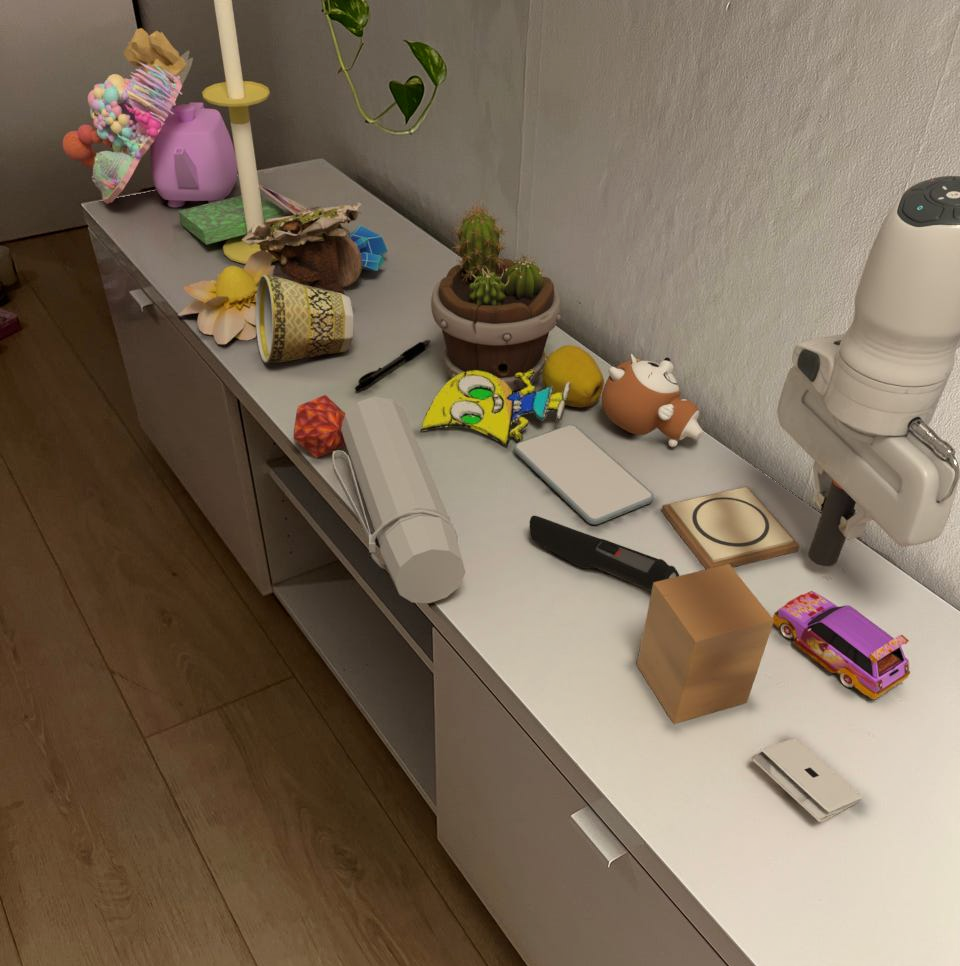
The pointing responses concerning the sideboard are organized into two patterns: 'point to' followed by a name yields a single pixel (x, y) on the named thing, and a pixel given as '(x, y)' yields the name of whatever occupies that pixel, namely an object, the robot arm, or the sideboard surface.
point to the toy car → (845, 643)
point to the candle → (239, 127)
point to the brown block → (703, 642)
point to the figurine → (649, 401)
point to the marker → (831, 527)
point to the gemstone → (359, 254)
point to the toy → (491, 405)
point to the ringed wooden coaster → (729, 528)
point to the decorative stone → (319, 426)
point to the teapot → (193, 156)
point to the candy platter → (129, 112)
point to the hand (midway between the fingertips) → (835, 519)
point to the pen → (391, 365)
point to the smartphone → (583, 474)
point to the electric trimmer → (600, 553)
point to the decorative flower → (230, 300)
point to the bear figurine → (306, 244)
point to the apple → (573, 375)
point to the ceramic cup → (300, 320)
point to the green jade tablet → (223, 218)
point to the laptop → (806, 778)
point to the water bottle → (400, 502)
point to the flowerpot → (493, 306)
